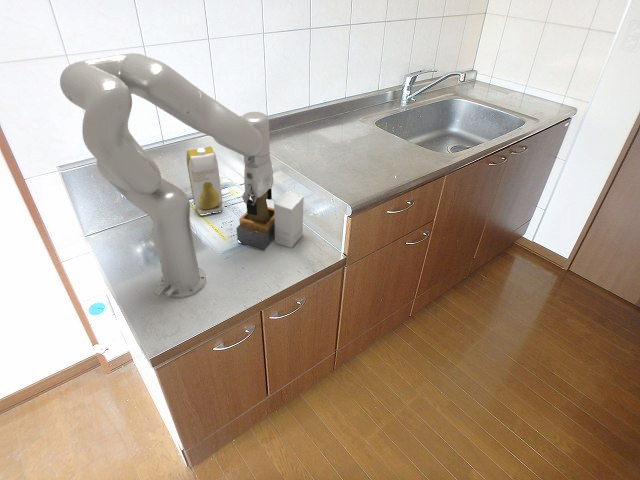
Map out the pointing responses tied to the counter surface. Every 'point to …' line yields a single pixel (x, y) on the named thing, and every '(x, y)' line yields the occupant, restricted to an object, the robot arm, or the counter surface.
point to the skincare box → (288, 219)
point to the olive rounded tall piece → (261, 210)
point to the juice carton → (204, 179)
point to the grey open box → (256, 231)
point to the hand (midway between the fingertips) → (259, 206)
